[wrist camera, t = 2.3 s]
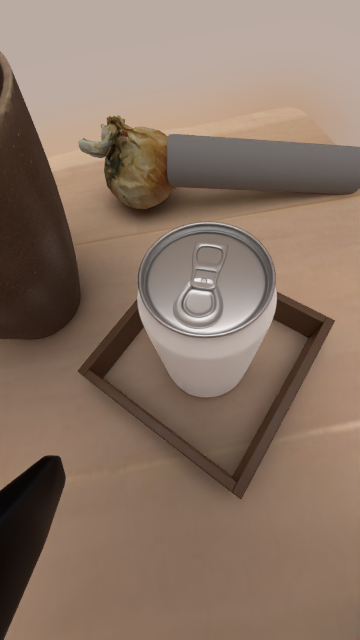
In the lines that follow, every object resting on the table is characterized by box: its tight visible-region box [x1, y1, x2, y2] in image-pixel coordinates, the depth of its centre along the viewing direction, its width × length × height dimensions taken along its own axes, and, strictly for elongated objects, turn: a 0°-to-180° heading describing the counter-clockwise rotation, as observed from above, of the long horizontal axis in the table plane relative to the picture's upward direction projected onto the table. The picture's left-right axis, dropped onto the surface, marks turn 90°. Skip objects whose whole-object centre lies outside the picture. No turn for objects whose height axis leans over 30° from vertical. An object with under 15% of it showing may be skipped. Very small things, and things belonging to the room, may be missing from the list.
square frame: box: [78, 292, 335, 499], centre depth 21 cm, size 13×13×3 cm
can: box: [137, 222, 277, 397], centre depth 17 cm, size 6×6×12 cm
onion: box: [79, 116, 176, 209], centre depth 26 cm, size 8×8×8 cm
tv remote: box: [167, 134, 360, 194], centre depth 25 cm, size 4×20×2 cm
